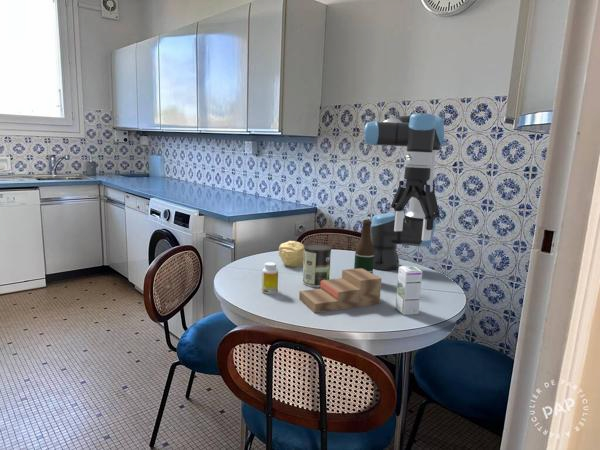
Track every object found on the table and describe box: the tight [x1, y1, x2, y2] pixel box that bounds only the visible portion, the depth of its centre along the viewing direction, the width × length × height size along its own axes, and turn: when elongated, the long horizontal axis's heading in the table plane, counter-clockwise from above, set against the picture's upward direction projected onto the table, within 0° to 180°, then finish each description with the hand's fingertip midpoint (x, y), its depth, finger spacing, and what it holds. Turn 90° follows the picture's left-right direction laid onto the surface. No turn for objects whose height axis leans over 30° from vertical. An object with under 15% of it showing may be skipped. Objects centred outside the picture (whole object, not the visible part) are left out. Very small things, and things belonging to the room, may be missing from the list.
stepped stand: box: [298, 268, 382, 314], centre depth 139 cm, size 24×12×9 cm, turn 114°
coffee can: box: [302, 243, 332, 288], centre depth 156 cm, size 10×10×14 cm
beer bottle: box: [353, 219, 374, 274], centre depth 160 cm, size 8×8×24 cm
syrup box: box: [395, 265, 423, 316], centre depth 132 cm, size 6×6×14 cm
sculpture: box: [278, 240, 305, 268], centre depth 179 cm, size 11×12×11 cm
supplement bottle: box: [261, 261, 279, 295], centre depth 145 cm, size 6×6×10 cm
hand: (411, 235), depth 129 cm, fingers open, 13 cm apart
